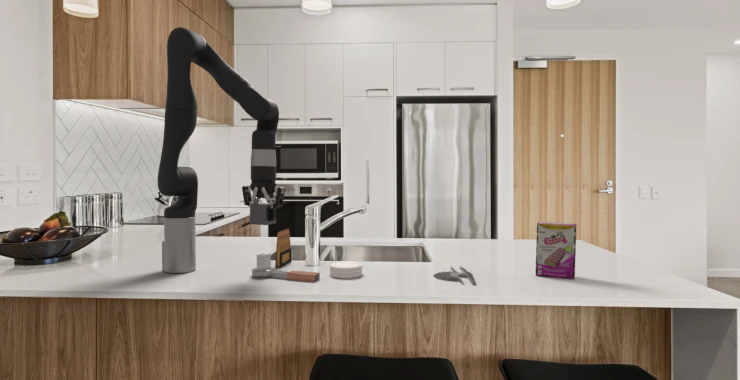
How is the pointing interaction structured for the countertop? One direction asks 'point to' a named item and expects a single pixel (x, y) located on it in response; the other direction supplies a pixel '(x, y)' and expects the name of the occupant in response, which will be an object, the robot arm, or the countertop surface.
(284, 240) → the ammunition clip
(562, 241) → the candy bar box
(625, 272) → the countertop surface
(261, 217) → the socket
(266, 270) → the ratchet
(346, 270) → the coaster
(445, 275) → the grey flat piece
